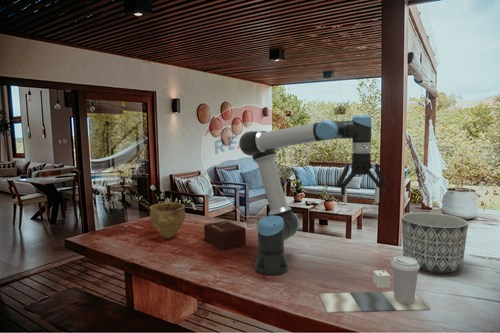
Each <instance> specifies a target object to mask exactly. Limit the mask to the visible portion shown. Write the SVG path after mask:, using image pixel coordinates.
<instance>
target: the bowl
mask: <svg viewBox="0 0 500 333" xmlns="http://www.w3.org/2000/svg"><path fill="white" fill-rule="evenodd" d="M149 210H150V211H149V212H150V213H149V220H150V223H151V225H152V227H153V229H155V230H156V231H157V232H158V233H159V235H161V237H164V238H165V239H171V238H172V237H174V236H175V235H176V234H177V233H178V231H179V230H180V228H181V227H182V226H183V224H184V221H185V219H186V218H185V217H186V210H185V204H183V203H180V202H175V201H174V202H162V203H155V204H153V205H151V206H150V207H149Z"/></svg>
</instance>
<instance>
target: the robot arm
mask: <svg viewBox="0 0 500 333" xmlns="http://www.w3.org/2000/svg"><path fill="white" fill-rule="evenodd" d="M372 127H373V126H372V117H371V116H370V115H367V114H366V115H363V114H362V115H354V116H352V119H351V120H339V121H338V120H329V119H326V120H325V119H324V120H322V121H320V122H313V123H308V124H307V123H306V124H303V125H302V124H301V125H298V126H290V127H287V128H279V129H276V130H270V131H269V130H268V131H265V130H255V131H253V130H251V131H247V132H245V133H243V134H242V135H241V137H240V138H239V142H238V144H239V148H240V151H241V152H242V153H243V154H244V155H247V156H250V157H252V159H253V162H255V163H256V164H257V166H258V170H259V174H260V178H261V180H262V181H261V182H262V185H263V189H264V192H265V195H266V198H267V203H268V207H269V212H268V216H263V217H262V218H260V219H259V220H258V223H257V224H258V225H257V238H258V239H257V240H258V253H257V256H256V259H255V263H254V270H255V272H257V273H258V274H261V275H265V276H280V275H283V274H285V273H287V272H288V270H289V263H288V260H287V257H286V255H285V242H286V240H288V239H290V238H291V237H293V236H294V235H295V234H296V233H297V231H299V227H300V221H299V220H300V219H299V218H298V216H297V215H296V214H295V213H294V212H293V209H292V207H290V206H289V205H288V203H287V200H286V196H285V192H284V189H283V186H282V182H281V178H280V175H279V171H278V169H277V164H276V161H275V158H276V156H277V153H276V148H284V147H289V146H295V145H300V144H301V145H302V144H308V143H309V144H310V143H314V142H315V143H317V142H322V141H328V140H338V139H352V142H351V144H352V145H351V148H352V149H351V151H352V154H351V162H352V163H351V164H347V163H345V164H344V167H343V171H342V172H341V174H340V177H339V178H338V180H337V183H336V186H337V187H339V188H340V194H341V196H342V202H343V203H344V204H347V203H348V188H347V185H348V184H349V183H350V182H351V181H352V180H353V179H354V177H355V176H361V175H367V176H368V177H369V178H370V180H371V181H372V182H373V183H374V185H375V186H374V202H375V203H376V204H378V203H379V202H380V195H381V194H382V188H383V186H386V185H387V182H386V181H385V179H384V177H383V175H382V172H381V170H380V167H379V166H380V165H379V164H378V163H373V164H372V153H370V152H371V151H372V129H373V128H372ZM350 169H351V170H352V171H351V172H350V174H348V172H349V170H350ZM371 169H373V170H374V172H375V174H376V176H377V178H378V179H377V178H376V176H374V174H373V173H372V171H371ZM347 174H348V176H347ZM346 176H347V177H346Z"/></svg>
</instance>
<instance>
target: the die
mask: <svg viewBox="0 0 500 333" xmlns="http://www.w3.org/2000/svg"><path fill="white" fill-rule="evenodd" d="M372 272H373V273H372V284H374V285H375V286H376V288H378V289H380V288H381V289H383V288H385V289H386V288H387V289H388V288H389V289H390V288H391V277H392V276H391V274H390V273H388V271H387V270H386V269H385V270H373V271H372Z"/></svg>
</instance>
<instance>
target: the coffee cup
mask: <svg viewBox="0 0 500 333" xmlns="http://www.w3.org/2000/svg"><path fill="white" fill-rule="evenodd" d="M390 266H391V268H392V270H391V271H392V280H393V281H392V283H393V292H394V298H395V300H396V301H397V302H399V303H402V304H412V303H414V298H415V295H416V288H417V281H418V275H419V270H421V269H420V266H419V264H418V262H417V260H415V259H413V258H410V257H406V256H403V255H399V256H394V257H393V259H392V260H391V262H390Z"/></svg>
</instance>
